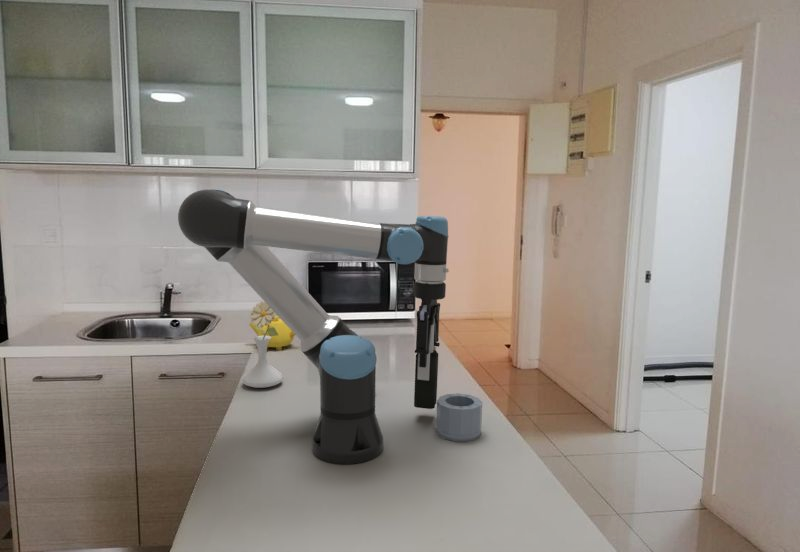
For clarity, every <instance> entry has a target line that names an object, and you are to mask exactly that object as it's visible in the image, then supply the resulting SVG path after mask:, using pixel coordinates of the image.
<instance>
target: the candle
mask: <svg viewBox="0 0 800 552" xmlns="http://www.w3.org/2000/svg"><path fill="white" fill-rule="evenodd" d="M429 322H430V321H429ZM434 324H435V318H434ZM434 324H433V325H432V326H431V336H430V346H429V353H430V369H429V380H428V381H427V380H419V379H417V374H418V353H415V365H414V366H415V368H414V369H415V370H414V396H413V398H414V400H413V406H414V407H415V408H419V409H426V410H427V409H428V410H433V409H435V407H436V405H437V400H438V398H437V394H438V372H439V371H438V369H439V352H438V351H437V350H436V351H435V350H433V348H434Z"/></svg>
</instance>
